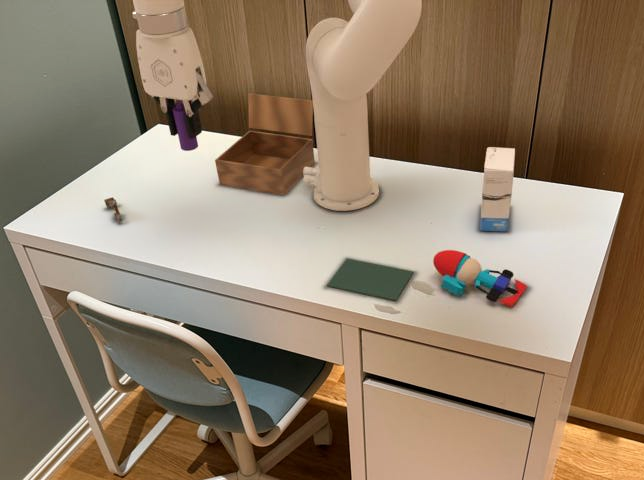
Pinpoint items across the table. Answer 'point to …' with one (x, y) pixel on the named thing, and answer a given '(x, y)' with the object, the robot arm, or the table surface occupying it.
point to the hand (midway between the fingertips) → (186, 133)
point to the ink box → (497, 189)
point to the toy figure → (474, 277)
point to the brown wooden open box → (265, 162)
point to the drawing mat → (370, 279)
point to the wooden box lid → (280, 114)
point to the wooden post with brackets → (112, 203)
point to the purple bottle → (183, 128)
